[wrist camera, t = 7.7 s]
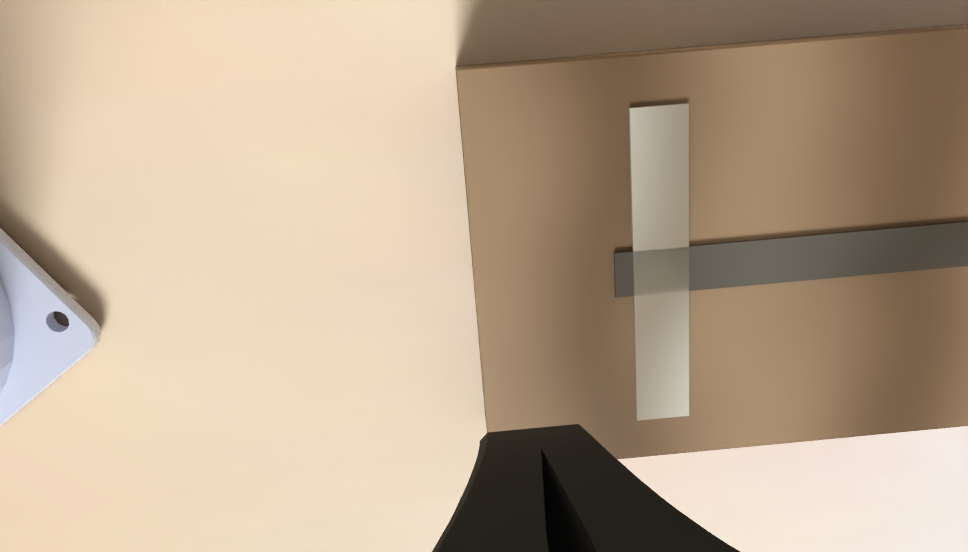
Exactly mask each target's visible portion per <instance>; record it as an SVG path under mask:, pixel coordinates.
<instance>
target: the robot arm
mask: <svg viewBox="0 0 968 552" xmlns="http://www.w3.org/2000/svg"><path fill="white" fill-rule="evenodd" d="M54 311H58V312H62V313H63V314H65V315H66V316H67V318H68V320H69V326H62V325H60V324H59V323H57V321H56V320H55V318H54ZM100 337H101V331H100V327H99V325H98V323H97V322H96V321H95V319H94V318H93V317H92V316H91V315H90V314H89V313H88V312H86V311H85V310H84V309H83V308H82V307H81V306H80V305H79V304H78V303H77V302H76V301H75V300H74V299H73V298H72V297H71V296H70V295H69V294H68V293H67V292H66V291H65V290H64V289H63V288H62V287H61V286H60V285H59V284H58V283H57V282H56V281H55V280H53V279H52V278H51V277H50V276H49V275H48V274H47V273H46V272H45V271H44V270H43V269H42V268H41V267H40V266H39V265H38V264H37V263H36V262H35V261H34V260H33V259H32V258H31V257H30V256H29V255H28V254H27V253H26V252H25V251H24V250H23V249H22V248H20V247H19V246H18V245H17V244H16V243H15V242H14V241H13V240H12V239H11V238H10V237H9V236H8V235H7V234H6V233H5V232H4V231H3V230H2V229H1V228H0V426H1V425H2V424H3V423H5V422H6V421H7V420H8V419H9V418H11V417H12V416H13V415H14V414H15V413H17V412H18V411H19V410H20V409H21V408H23V407H24V406H25V405H26V404H27V403H29V402H30V401H31V400H32V399H33V398H35V397H36V396H37V395H38V394H39V393H41V392H42V391H43V390H44V389H45V388H47V387H48V386H49V385H50V384H51V383H53V382H54V381H55V380H56V379H57V378H58V377H60V376H61V375H62V374H63V373H64V372H66V371H67V370H68V369H69V368H70V367H72V366H73V365H74V364H75V363H76V362H78V361H79V360H80V359H81V358H82V357H84V356H85V355H86V354H87V353H88V352H90V351H91V350H92V349H93V348H94V347H95V346H96V345H97V344H98V342H99V341H100ZM432 552H740V551H738V550H736V549H735V548H733V547H731V546H730V545H728V544H726V543H725V542H723V541H722V540H720V539H719V538H717V537H716V536H714V535H713V534H711V533H710V532H708V531H707V530H705V529H704V528H702V527H701V526H700V525H698V524H697V523H695V522H694V521H693V520H691V519H690V518H688V517H687V516H686V515H684V514H683V513H681V512H680V511H678V510H677V509H676V508H674V507H673V506H672V505H670V504H669V503H668V502H667V501H665V500H664V499H663V498H661V497H660V496H659V495H658V494H657V493H655V492H654V491H653V490H652V489H651V488H649V487H648V486H647V485H646V484H644V483H643V482H642V481H641V480H640V479H638V478H637V477H636V476H635V475H634V474H633V473H632V472H630V471H629V470H628V469H627V468H626V467H625V466H624V465H623V464H622V463H620V462H619V461H618V460H617V459H616V458H615V457H614V456H613V455H612V454H611V453H610V452H609V451H607V450H606V449H605V448H604V447H603V446H602V445H601V444H600V443H599V442H598V441H597V440H596V439H595V438H594V437H593V436H592V435H591V434H589V433H588V432H587V431H586V430H585V429H584V428H583V427H582V426H580V425H579V424H572V425H561V426H550V427H540V428H529V429H518V430H508V431H497V432H488V433H487V434H486V435H485V436H484V437H483V438H482V439H481V440H480V447H479V452H478V456H477V459H476V463H475V466H474V469H473V471H472V474H471V476H470V479H469V482H468V484H467V486H466V488H465V491H464V493H463V495H462V497H461V499H460V501H459V503H458V506H457V508H456V510H455V512H454V514H453V516H452V518H451V520H450V522H449V524H448V525H447V527H446V529H445V530H444V532H443V534H442V536H441V537H440V539H439V541H438V543H437V544H436V546H435V548H434V549H433V551H432Z"/></svg>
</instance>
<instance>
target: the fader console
mask: <svg viewBox="0 0 968 552" xmlns="http://www.w3.org/2000/svg"><path fill="white" fill-rule="evenodd" d="M456 79H457V90H458V102H459V114H460V125H461V137H462V149H463V160H464V172H465V184H466V195H467V207H468V219H469V230H470V242H471V254H472V265H473V277H474V289H475V300H476V312H477V324H478V335H479V347H480V359H481V370H482V382H483V394H484V405H485V417H486V427H487V433H488V432H497V431H508V430H518V429H529V428H540V427H550V426H561V425H572V424H579V425H580V426H582V427H583V428H584V429H585V430H586V431H587V432H588V433H589V434H591V435H592V436H593V437H594V438H595V439H596V440H597V441H598V442H599V443H600V444H601V445H602V446H603V447H604V448H605V449H606V450H607V451H609V452H610V453H611V454H612V455H613V456H614V457H615V458H616V459H624V458H635V457H645V456H656V455H666V454H677V453H687V452H698V451H708V450H719V449H729V448H740V447H750V446H761V445H771V444H782V443H792V442H802V441H813V440H823V439H834V438H844V437H855V436H865V435H876V434H886V433H897V432H907V431H918V430H928V429H939V428H949V427H960V426H968V24H966V25H954V26H941V27H929V28H917V29H905V30H893V31H881V32H869V33H857V34H844V35H832V36H820V37H808V38H796V39H784V40H772V41H760V42H747V43H735V44H723V45H711V46H699V47H687V48H675V49H663V50H650V51H638V52H626V53H614V54H602V55H590V56H578V57H565V58H553V59H541V60H529V61H517V62H505V63H493V64H481V65H468V66H456Z"/></svg>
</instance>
